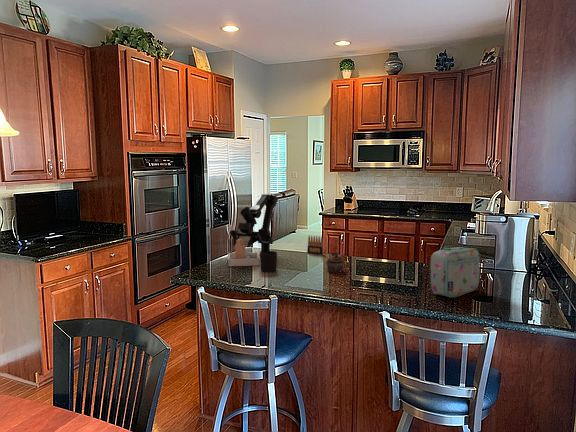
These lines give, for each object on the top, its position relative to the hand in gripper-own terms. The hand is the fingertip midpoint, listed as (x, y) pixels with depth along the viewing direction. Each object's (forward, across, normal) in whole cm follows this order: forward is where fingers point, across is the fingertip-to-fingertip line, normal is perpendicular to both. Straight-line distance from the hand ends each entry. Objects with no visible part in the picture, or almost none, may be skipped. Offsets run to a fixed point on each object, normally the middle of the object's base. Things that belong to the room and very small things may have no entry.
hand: (240, 246), depth 258 cm
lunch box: (+19, +119, -5) cm, 121 cm away
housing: (+6, +1, +8) cm, 10 cm away
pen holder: (+15, +24, -1) cm, 28 cm away
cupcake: (+5, +57, +9) cm, 58 cm away
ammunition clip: (-23, +32, +37) cm, 54 cm away
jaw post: (+6, 0, +6) cm, 9 cm away
